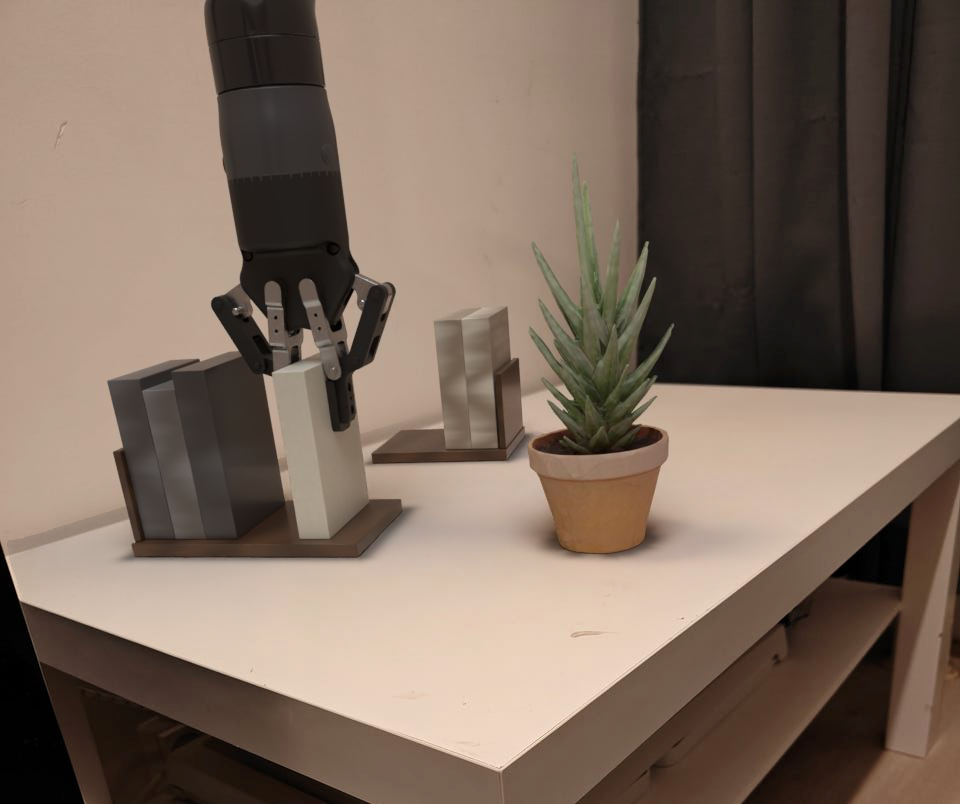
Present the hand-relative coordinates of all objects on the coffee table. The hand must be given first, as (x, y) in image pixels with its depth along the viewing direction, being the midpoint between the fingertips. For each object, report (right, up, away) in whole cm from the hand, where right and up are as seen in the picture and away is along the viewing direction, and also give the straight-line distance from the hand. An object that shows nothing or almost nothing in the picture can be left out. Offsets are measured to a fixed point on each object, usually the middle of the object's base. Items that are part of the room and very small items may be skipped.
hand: (322, 429), depth 69 cm
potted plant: (+20, -9, -3) cm, 22 cm away
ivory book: (+1, -6, +3) cm, 7 cm away
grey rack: (-5, -7, +5) cm, 10 cm away
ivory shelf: (+9, +4, +26) cm, 27 cm away
